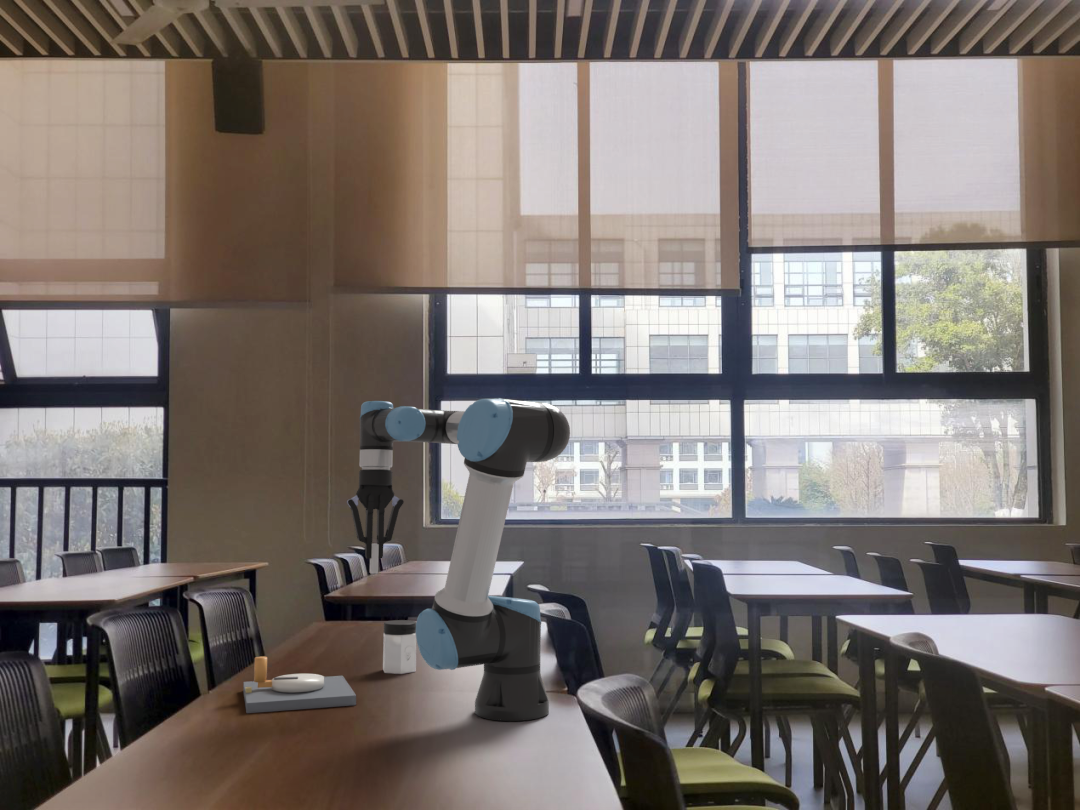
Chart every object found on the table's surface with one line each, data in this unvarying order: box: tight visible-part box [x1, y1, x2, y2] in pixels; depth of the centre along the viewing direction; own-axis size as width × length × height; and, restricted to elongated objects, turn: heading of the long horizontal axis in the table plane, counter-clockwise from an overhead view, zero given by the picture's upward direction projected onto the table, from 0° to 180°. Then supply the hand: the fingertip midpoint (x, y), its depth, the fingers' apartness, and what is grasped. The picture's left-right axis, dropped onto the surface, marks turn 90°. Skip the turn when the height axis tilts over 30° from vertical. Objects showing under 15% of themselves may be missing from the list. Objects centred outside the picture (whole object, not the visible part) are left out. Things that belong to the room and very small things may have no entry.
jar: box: [382, 619, 417, 675], centre depth 229 cm, size 9×8×12 cm
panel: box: [242, 675, 357, 714], centre depth 198 cm, size 22×22×3 cm
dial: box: [253, 656, 325, 692], centre depth 199 cm, size 15×11×6 cm
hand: (373, 573), depth 206 cm, fingers closed
